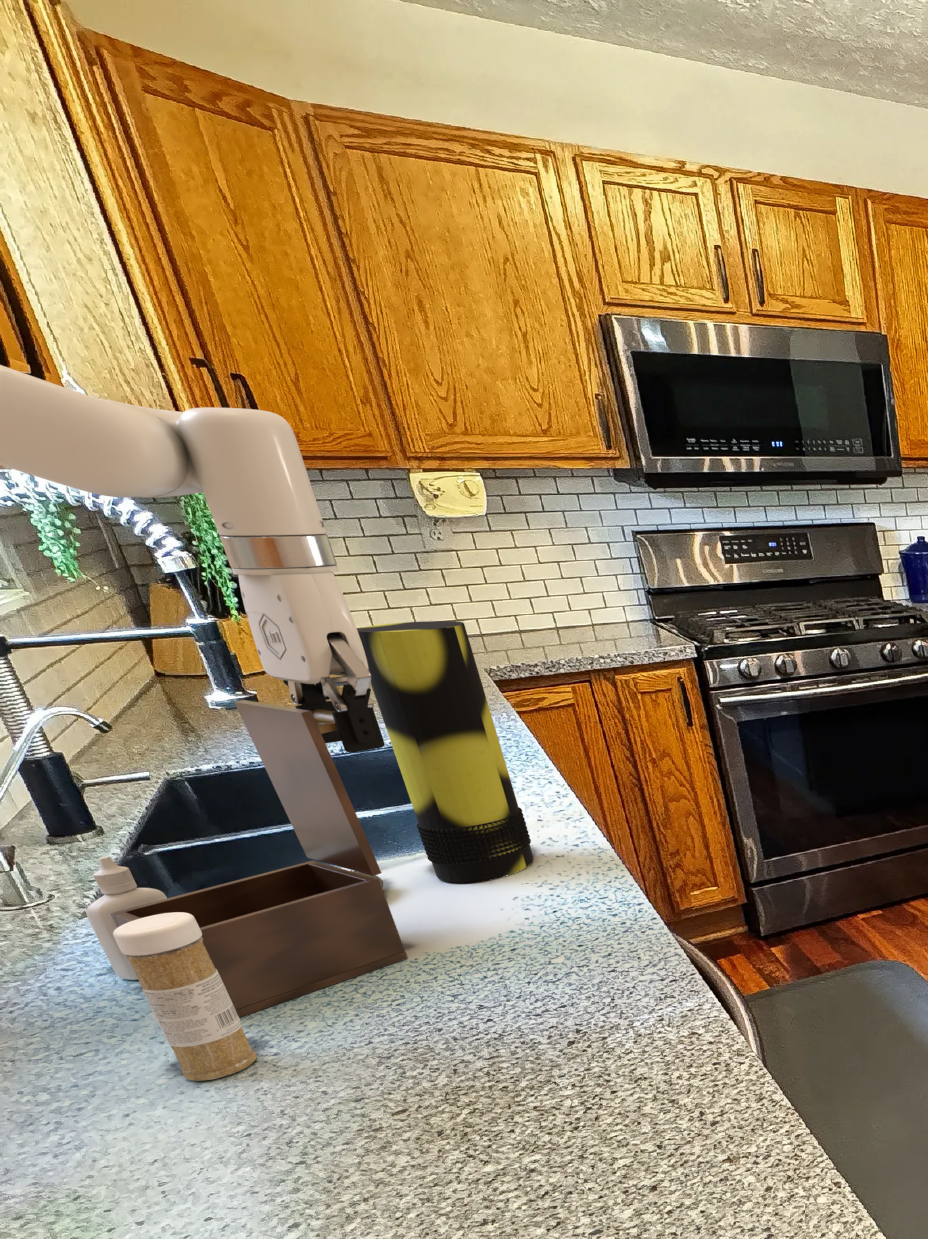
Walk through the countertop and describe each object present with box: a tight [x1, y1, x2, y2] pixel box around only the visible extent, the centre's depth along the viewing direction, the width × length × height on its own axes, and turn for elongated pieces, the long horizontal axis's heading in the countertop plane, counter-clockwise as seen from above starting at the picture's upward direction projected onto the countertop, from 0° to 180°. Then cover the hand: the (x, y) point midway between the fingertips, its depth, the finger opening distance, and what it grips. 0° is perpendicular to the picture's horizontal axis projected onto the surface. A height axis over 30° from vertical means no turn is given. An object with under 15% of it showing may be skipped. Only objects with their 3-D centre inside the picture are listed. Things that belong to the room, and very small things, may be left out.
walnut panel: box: [234, 699, 382, 876], centre depth 99 cm, size 16×13×6 cm
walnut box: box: [110, 860, 409, 1019], centre depth 96 cm, size 16×13×9 cm
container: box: [356, 620, 535, 884], centre depth 120 cm, size 11×11×30 cm
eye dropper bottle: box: [85, 855, 168, 981], centre depth 97 cm, size 4×6×12 cm
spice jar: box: [113, 912, 257, 1082], centre depth 80 cm, size 5×5×14 cm
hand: (346, 744), depth 99 cm, fingers closed on walnut panel, 6 cm apart
